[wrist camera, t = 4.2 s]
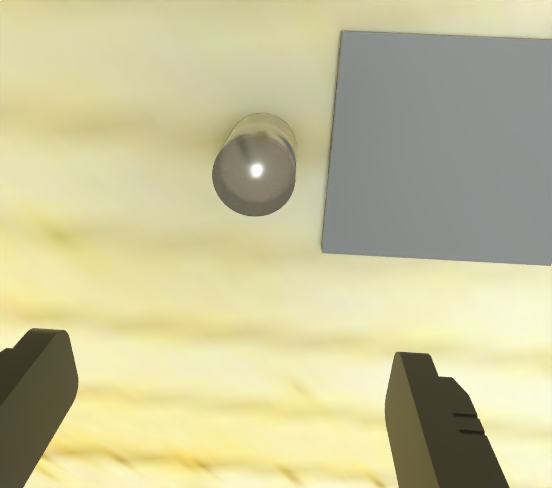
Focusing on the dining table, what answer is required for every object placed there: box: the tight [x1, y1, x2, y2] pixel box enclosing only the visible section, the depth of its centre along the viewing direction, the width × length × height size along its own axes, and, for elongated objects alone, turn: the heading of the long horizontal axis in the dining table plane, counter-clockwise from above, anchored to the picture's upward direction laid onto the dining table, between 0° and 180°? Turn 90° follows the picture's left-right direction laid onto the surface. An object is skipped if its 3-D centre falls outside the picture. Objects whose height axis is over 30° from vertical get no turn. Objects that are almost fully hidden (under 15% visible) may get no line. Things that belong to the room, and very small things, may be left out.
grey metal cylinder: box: [212, 113, 296, 216], centre depth 30 cm, size 5×5×7 cm
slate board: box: [321, 31, 552, 266], centre depth 32 cm, size 18×16×1 cm
